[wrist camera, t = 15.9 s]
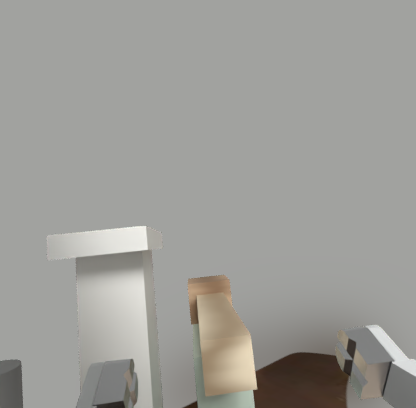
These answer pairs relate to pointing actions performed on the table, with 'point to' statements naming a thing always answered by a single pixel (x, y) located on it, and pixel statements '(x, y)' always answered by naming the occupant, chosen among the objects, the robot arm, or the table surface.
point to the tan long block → (221, 337)
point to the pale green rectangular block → (217, 404)
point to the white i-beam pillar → (116, 301)
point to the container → (11, 384)
